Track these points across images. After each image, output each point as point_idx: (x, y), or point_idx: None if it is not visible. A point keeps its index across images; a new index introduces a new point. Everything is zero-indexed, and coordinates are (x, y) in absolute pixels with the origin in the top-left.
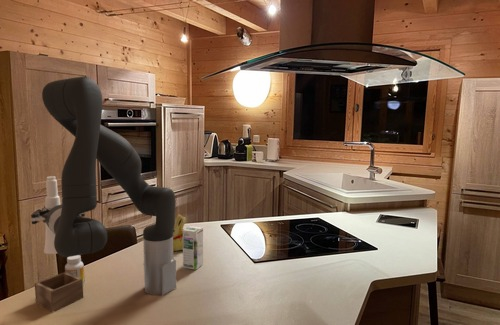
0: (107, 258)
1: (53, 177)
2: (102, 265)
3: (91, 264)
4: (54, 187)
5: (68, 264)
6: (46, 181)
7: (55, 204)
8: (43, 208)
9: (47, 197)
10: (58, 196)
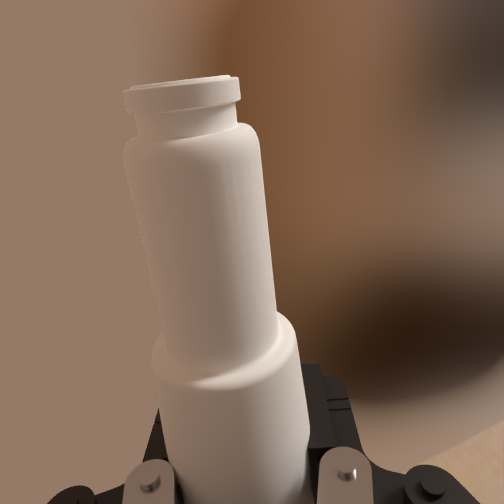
0: (485, 438)
1: (195, 87)
2: (476, 489)
3: (430, 460)
4: (219, 248)
5: None
6: (123, 154)
7: (243, 457)
8: None
9: (165, 350)
10: (282, 347)
